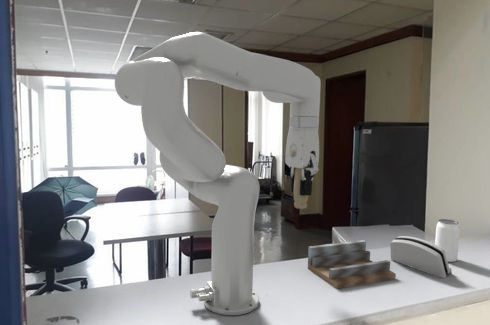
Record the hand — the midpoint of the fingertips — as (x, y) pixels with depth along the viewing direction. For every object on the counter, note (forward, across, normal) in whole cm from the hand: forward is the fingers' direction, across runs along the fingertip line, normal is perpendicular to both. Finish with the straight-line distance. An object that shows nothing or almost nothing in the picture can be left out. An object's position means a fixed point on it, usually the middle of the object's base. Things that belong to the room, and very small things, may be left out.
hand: (300, 192), depth 102 cm
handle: (+4, 0, 0) cm, 4 cm away
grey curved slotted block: (+23, +6, +37) cm, 44 cm away
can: (+23, +3, +51) cm, 56 cm away
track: (+23, +3, +15) cm, 28 cm away
